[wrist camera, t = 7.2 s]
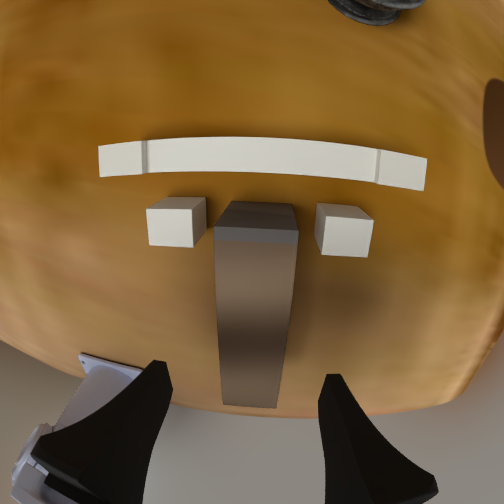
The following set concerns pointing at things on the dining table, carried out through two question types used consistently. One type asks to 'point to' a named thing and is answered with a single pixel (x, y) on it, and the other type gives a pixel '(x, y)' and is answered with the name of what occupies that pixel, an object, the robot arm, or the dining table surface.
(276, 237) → the block
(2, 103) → the dining table surface
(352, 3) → the dark grey tall piece
